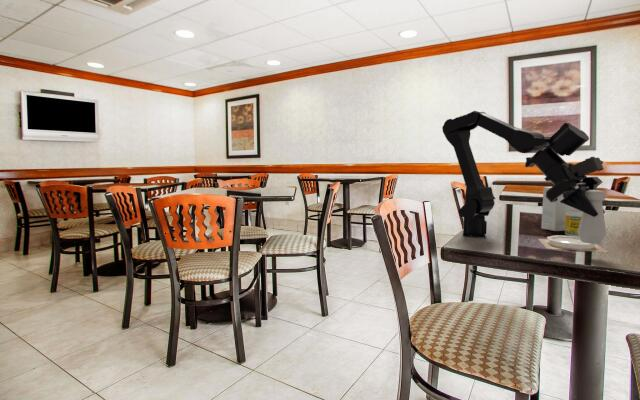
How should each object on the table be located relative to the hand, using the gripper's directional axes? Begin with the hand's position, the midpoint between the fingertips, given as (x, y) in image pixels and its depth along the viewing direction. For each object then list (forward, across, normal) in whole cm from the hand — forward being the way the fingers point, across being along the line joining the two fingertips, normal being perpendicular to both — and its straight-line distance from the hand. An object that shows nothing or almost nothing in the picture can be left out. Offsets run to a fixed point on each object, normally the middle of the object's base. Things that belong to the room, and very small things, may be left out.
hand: (599, 214), depth 90 cm
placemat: (+2, +8, +14) cm, 17 cm away
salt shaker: (+4, 0, +6) cm, 7 cm away
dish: (+1, +8, +14) cm, 17 cm away
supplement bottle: (-2, +24, +18) cm, 31 cm away
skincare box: (-7, +29, +24) cm, 38 cm away
